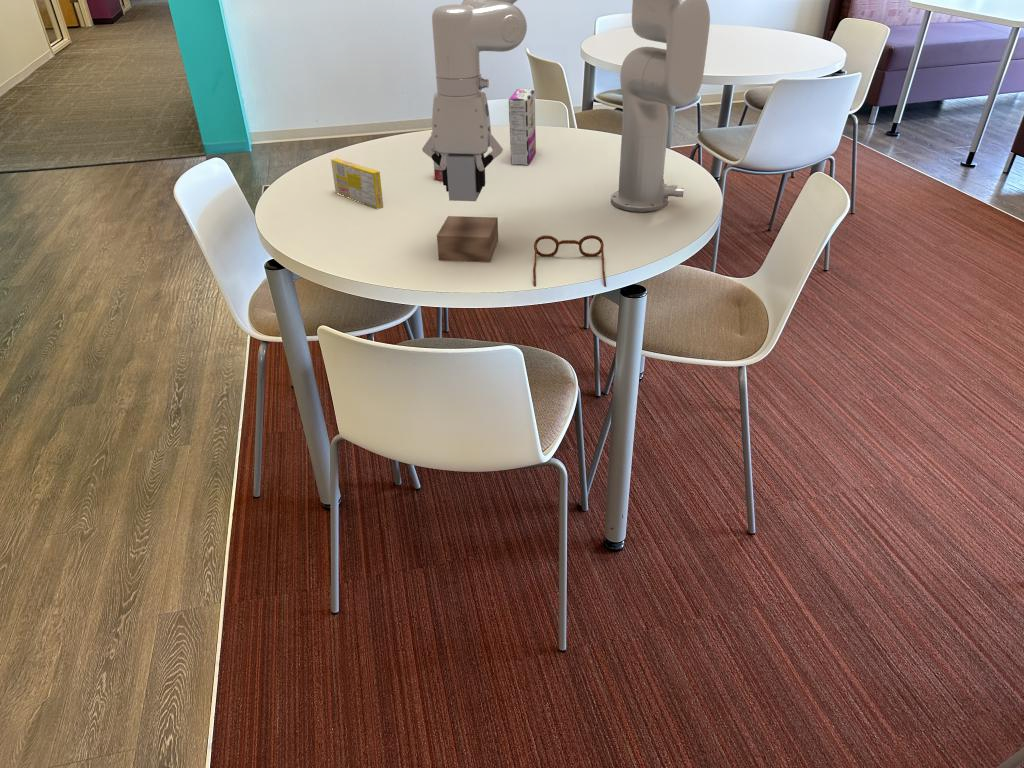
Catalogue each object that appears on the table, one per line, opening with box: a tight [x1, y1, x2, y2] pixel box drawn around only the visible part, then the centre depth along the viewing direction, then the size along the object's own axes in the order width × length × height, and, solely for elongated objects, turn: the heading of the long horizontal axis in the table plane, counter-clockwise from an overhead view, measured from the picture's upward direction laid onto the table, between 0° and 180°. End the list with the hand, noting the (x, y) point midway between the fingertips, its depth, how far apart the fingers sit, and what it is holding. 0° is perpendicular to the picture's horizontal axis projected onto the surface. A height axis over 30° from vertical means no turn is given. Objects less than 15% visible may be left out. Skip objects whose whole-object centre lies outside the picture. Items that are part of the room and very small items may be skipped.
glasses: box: [532, 234, 607, 287], centre depth 131 cm, size 13×13×5 cm
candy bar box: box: [508, 88, 537, 166], centre depth 184 cm, size 11×5×16 cm, turn 168°
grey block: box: [446, 154, 481, 202], centre depth 132 cm, size 5×5×8 cm
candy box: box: [330, 157, 384, 209], centre depth 164 cm, size 16×2×8 cm, turn 47°
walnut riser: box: [436, 215, 500, 263], centre depth 139 cm, size 10×10×5 cm
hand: (464, 188), depth 133 cm, fingers closed on grey block, 5 cm apart
